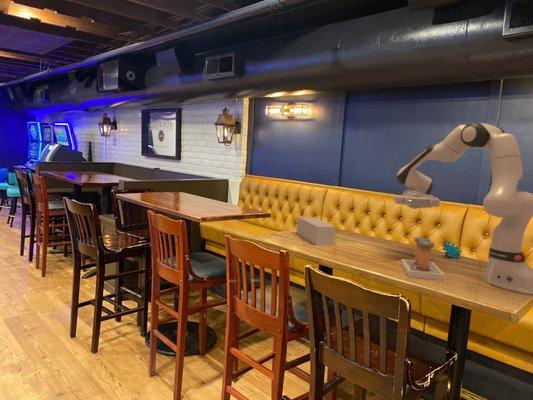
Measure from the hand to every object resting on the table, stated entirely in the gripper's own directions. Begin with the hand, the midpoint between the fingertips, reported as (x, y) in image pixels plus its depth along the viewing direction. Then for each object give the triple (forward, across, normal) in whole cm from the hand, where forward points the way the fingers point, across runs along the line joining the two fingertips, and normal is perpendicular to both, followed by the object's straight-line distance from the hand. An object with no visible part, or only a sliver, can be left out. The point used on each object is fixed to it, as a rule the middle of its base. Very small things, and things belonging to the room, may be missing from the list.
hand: (420, 202), depth 189 cm
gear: (-24, +24, +30) cm, 45 cm away
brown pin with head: (+12, 0, +29) cm, 31 cm away
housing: (+16, 0, +30) cm, 34 cm away
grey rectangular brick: (-39, -49, +30) cm, 70 cm away
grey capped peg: (+20, 0, +29) cm, 35 cm away
